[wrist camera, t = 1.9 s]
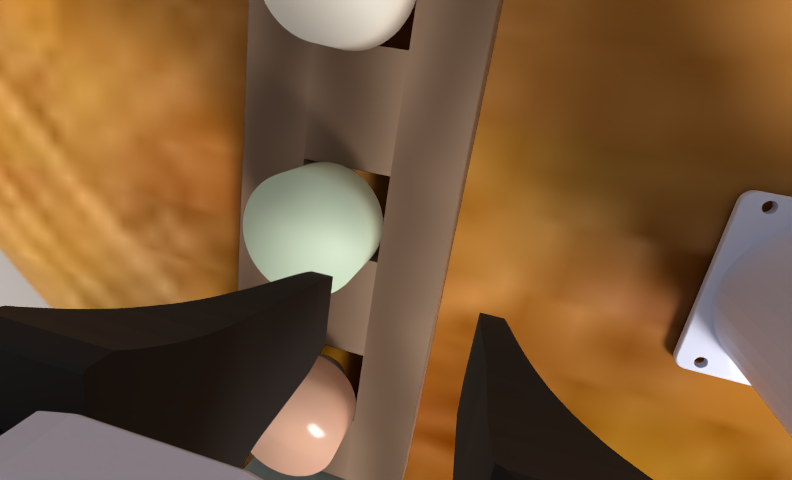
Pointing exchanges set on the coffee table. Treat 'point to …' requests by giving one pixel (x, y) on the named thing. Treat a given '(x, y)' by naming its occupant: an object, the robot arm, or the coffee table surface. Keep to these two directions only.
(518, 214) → the coffee table surface
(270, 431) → the button terracotta
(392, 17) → the button cream
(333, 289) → the button sage
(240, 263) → the console
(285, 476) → the grey-green cup
